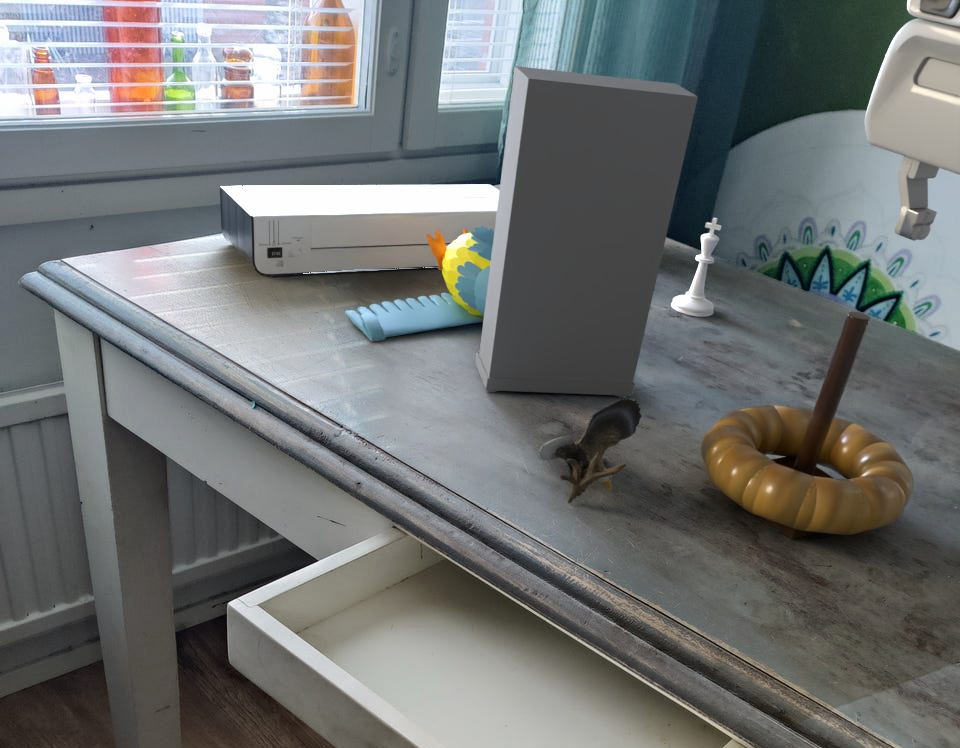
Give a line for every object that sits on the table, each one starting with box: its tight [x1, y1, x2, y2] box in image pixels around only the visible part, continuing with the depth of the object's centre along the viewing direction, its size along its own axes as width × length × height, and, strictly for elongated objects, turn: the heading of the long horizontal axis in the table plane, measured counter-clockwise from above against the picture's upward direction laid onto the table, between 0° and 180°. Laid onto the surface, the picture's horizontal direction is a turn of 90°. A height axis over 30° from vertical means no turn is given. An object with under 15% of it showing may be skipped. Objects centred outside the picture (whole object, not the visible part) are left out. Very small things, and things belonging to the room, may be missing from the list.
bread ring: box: [700, 404, 915, 536], centre depth 77 cm, size 16×16×4 cm
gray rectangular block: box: [474, 65, 699, 398], centre depth 85 cm, size 14×6×25 cm, turn 100°
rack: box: [761, 311, 871, 540], centre depth 75 cm, size 9×9×15 cm
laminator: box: [219, 183, 500, 277], centre depth 113 cm, size 34×12×6 cm, turn 118°
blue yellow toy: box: [345, 226, 494, 342], centre depth 100 cm, size 28×9×15 cm
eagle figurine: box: [538, 397, 643, 504], centre depth 76 cm, size 8×7×9 cm
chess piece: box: [670, 217, 722, 318], centre depth 110 cm, size 5×5×10 cm
